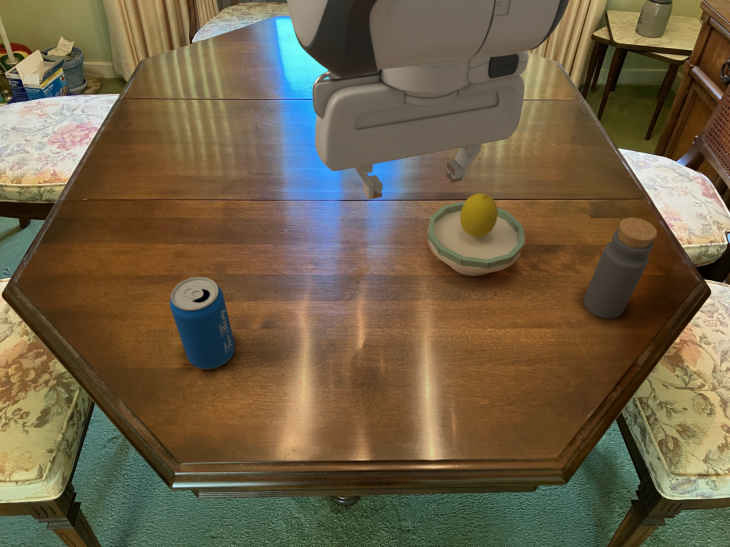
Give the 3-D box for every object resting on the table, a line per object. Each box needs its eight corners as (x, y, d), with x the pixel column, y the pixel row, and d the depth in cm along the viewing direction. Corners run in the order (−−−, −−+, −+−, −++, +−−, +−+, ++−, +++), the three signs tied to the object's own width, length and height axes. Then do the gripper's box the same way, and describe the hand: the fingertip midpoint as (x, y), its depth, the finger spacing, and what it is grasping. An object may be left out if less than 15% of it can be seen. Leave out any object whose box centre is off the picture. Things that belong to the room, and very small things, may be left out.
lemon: (494, 228, 88) (503, 187, 83) (490, 250, 85) (499, 208, 79) (459, 222, 89) (466, 181, 84) (454, 243, 86) (461, 202, 80)
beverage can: (221, 378, 73) (204, 317, 65) (178, 364, 74) (156, 304, 66) (244, 342, 77) (231, 281, 69) (203, 330, 79) (186, 269, 70)
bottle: (597, 285, 86) (630, 209, 76) (630, 307, 83) (670, 230, 73) (575, 302, 84) (606, 225, 73) (609, 325, 80) (646, 248, 70)
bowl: (535, 278, 87) (544, 248, 83) (450, 301, 83) (455, 272, 79) (487, 222, 97) (493, 193, 93) (410, 241, 94) (413, 212, 89)
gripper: (322, 84, 43) (328, 225, 52) (545, 52, 48) (514, 185, 58) (300, 54, 47) (310, 189, 57) (508, 28, 53) (484, 155, 62)
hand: (414, 187), depth 57 cm, fingers open, 8 cm apart
